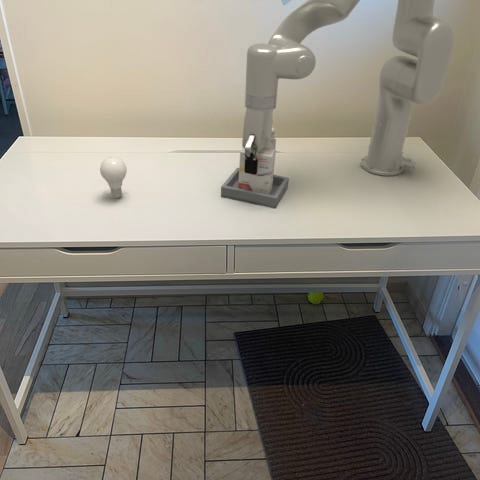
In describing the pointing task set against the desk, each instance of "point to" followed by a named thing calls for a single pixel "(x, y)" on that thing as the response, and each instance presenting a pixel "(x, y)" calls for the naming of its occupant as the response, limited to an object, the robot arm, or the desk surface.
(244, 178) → the ink cartridge box
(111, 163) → the lightbulb
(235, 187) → the tray
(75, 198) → the desk surface
